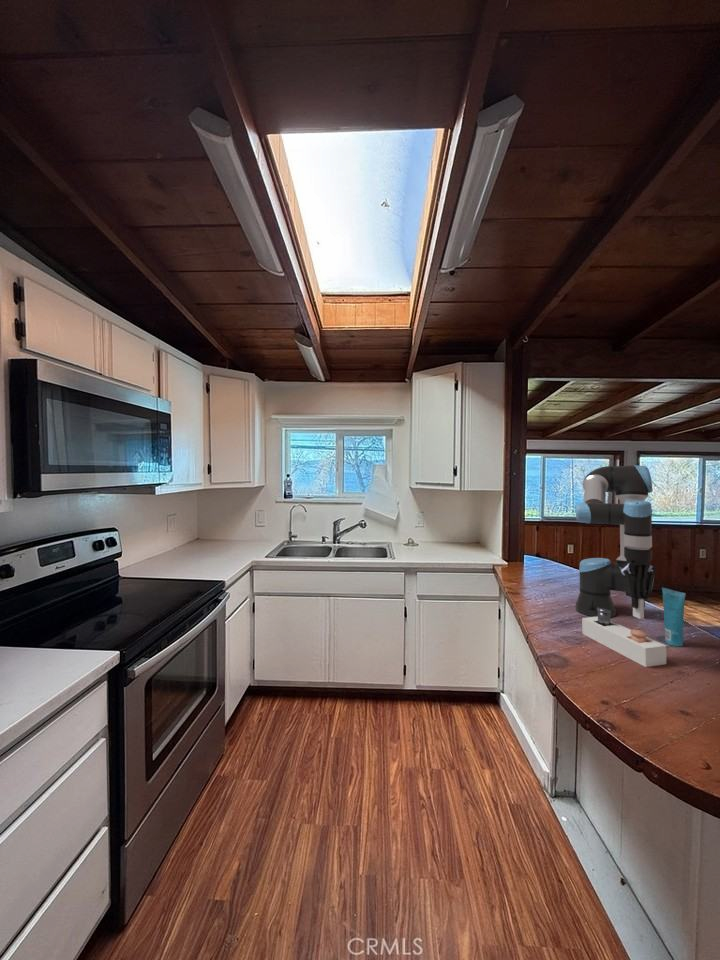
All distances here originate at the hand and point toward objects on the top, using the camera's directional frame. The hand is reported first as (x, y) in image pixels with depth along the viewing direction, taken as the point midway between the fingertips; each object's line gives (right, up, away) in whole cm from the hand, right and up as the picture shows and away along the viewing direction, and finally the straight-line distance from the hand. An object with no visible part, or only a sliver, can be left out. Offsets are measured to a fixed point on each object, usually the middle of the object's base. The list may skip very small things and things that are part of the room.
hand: (638, 617), depth 127 cm
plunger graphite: (-3, -9, +13) cm, 16 cm away
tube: (+19, -13, +9) cm, 25 cm away
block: (-1, -13, +7) cm, 15 cm away
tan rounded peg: (0, -12, 0) cm, 12 cm away
